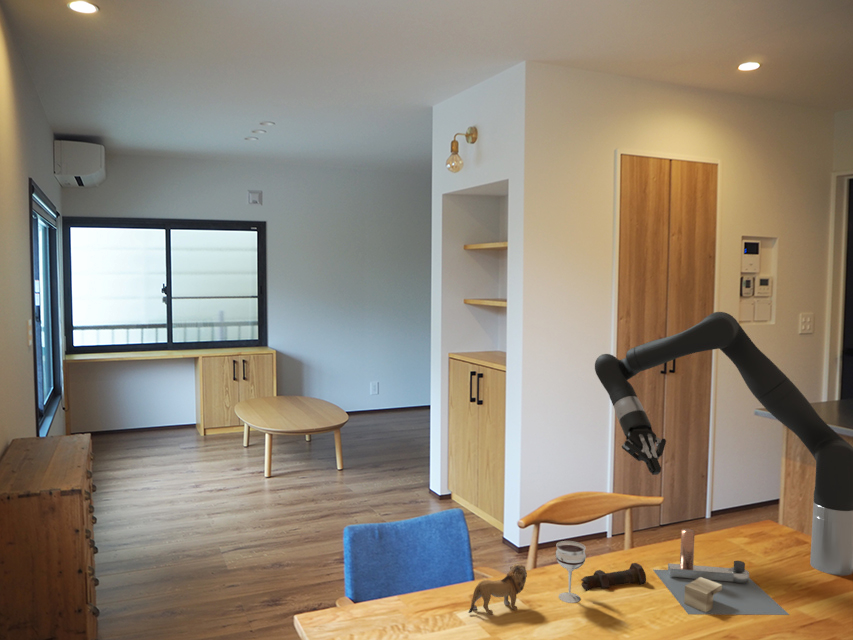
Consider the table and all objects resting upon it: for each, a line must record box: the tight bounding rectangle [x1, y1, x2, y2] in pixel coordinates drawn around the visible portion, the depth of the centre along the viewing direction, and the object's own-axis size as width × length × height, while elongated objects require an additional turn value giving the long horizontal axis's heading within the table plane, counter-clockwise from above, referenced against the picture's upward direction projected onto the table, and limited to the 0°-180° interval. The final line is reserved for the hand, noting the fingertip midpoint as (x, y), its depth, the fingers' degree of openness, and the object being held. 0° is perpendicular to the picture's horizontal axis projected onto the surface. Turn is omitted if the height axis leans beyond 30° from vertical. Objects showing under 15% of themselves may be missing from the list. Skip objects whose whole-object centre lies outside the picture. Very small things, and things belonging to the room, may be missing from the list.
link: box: [667, 528, 750, 584], centre depth 163 cm, size 18×4×11 cm, turn 81°
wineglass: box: [555, 540, 587, 604], centre depth 155 cm, size 7×7×12 cm
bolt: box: [580, 562, 647, 592], centre depth 161 cm, size 6×5×15 cm
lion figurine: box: [468, 563, 528, 615], centre depth 150 cm, size 15×5×9 cm, turn 117°
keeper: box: [684, 577, 722, 612], centre depth 151 cm, size 7×5×4 cm
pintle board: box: [653, 560, 790, 616], centre depth 157 cm, size 22×22×6 cm
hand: (656, 473), depth 176 cm, fingers closed
